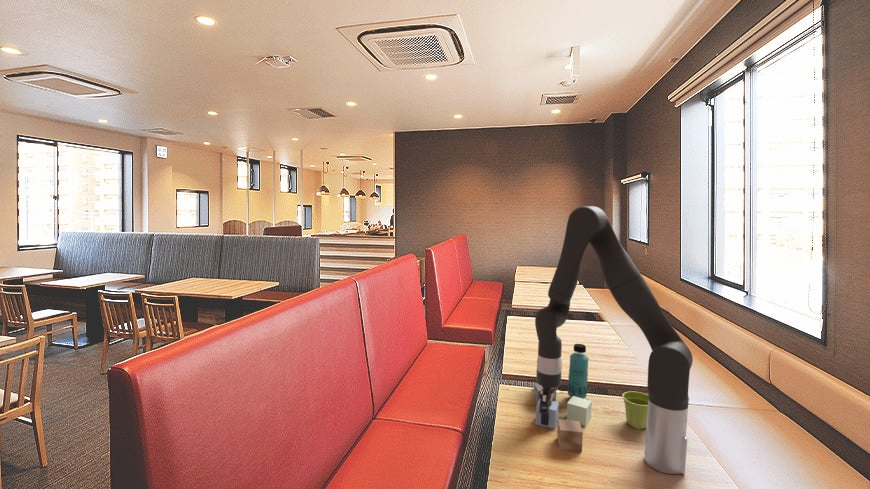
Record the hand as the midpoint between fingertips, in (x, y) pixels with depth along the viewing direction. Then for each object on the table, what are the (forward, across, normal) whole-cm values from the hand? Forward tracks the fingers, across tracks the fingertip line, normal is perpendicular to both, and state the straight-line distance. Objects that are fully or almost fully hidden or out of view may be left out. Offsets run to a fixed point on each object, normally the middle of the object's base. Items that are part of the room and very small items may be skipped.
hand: (547, 417), depth 132 cm
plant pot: (+2, +11, -26) cm, 28 cm away
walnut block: (+1, -10, -8) cm, 13 cm away
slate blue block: (+2, 0, 0) cm, 2 cm away
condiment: (+2, +22, +4) cm, 22 cm away
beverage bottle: (+2, +20, -7) cm, 21 cm away
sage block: (+1, +6, -9) cm, 11 cm away
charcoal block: (+1, +12, +3) cm, 12 cm away
